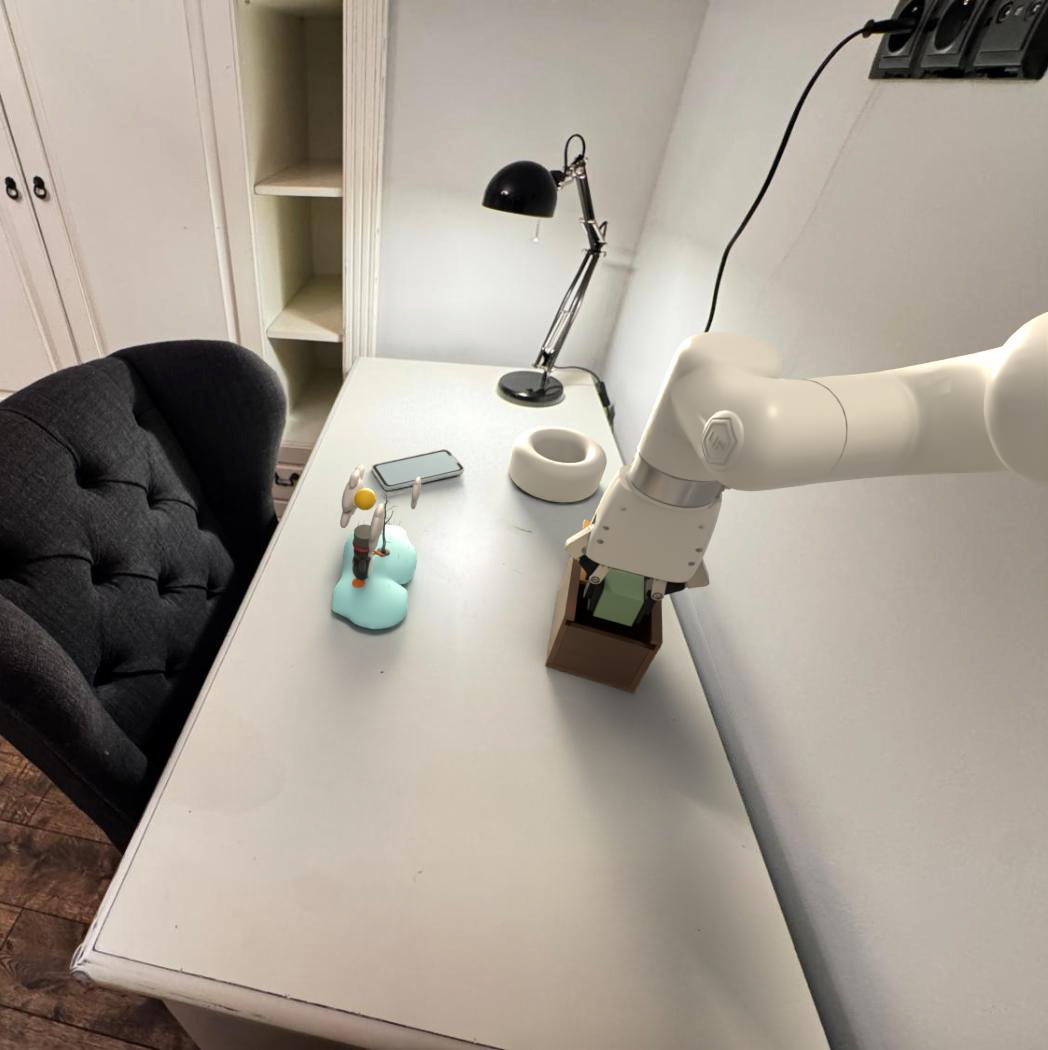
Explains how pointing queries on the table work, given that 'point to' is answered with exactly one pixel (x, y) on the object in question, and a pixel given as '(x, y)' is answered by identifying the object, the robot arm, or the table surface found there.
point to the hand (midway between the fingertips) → (613, 606)
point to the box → (600, 638)
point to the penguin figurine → (374, 561)
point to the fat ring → (557, 464)
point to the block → (620, 597)
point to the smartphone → (417, 469)
